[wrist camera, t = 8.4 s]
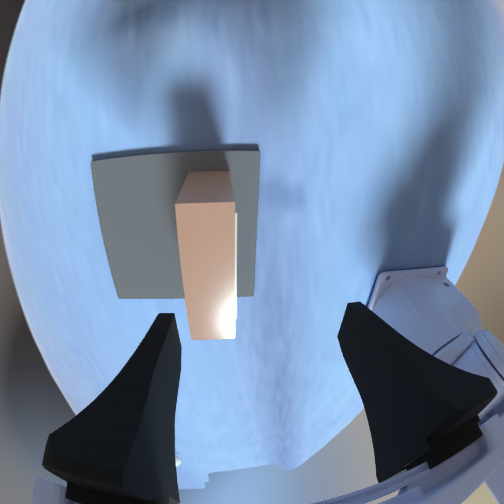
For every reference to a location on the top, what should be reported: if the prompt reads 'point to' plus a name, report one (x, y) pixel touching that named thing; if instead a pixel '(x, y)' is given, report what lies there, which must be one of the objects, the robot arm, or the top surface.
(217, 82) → the top surface
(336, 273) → the top surface
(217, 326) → the block
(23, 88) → the top surface
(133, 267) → the mat
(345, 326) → the robot arm
